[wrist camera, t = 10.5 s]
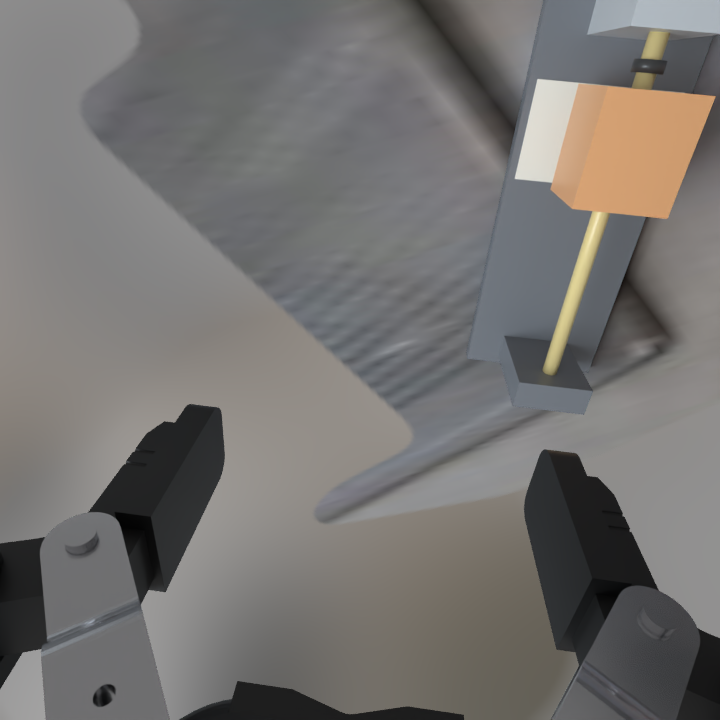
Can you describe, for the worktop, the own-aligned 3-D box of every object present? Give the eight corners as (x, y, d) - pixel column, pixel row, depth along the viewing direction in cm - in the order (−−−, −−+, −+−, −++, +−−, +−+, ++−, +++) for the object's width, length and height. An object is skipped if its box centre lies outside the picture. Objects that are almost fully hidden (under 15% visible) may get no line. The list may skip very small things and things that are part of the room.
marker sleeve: (578, 83, 29) (608, 86, 25) (669, 92, 29) (715, 96, 24) (550, 189, 32) (572, 208, 28) (632, 197, 32) (667, 218, 27)
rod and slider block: (549, -30, 29) (590, -60, 22) (723, -15, 29) (820, -42, 22) (466, 352, 42) (475, 407, 36) (584, 366, 42) (617, 424, 35)
